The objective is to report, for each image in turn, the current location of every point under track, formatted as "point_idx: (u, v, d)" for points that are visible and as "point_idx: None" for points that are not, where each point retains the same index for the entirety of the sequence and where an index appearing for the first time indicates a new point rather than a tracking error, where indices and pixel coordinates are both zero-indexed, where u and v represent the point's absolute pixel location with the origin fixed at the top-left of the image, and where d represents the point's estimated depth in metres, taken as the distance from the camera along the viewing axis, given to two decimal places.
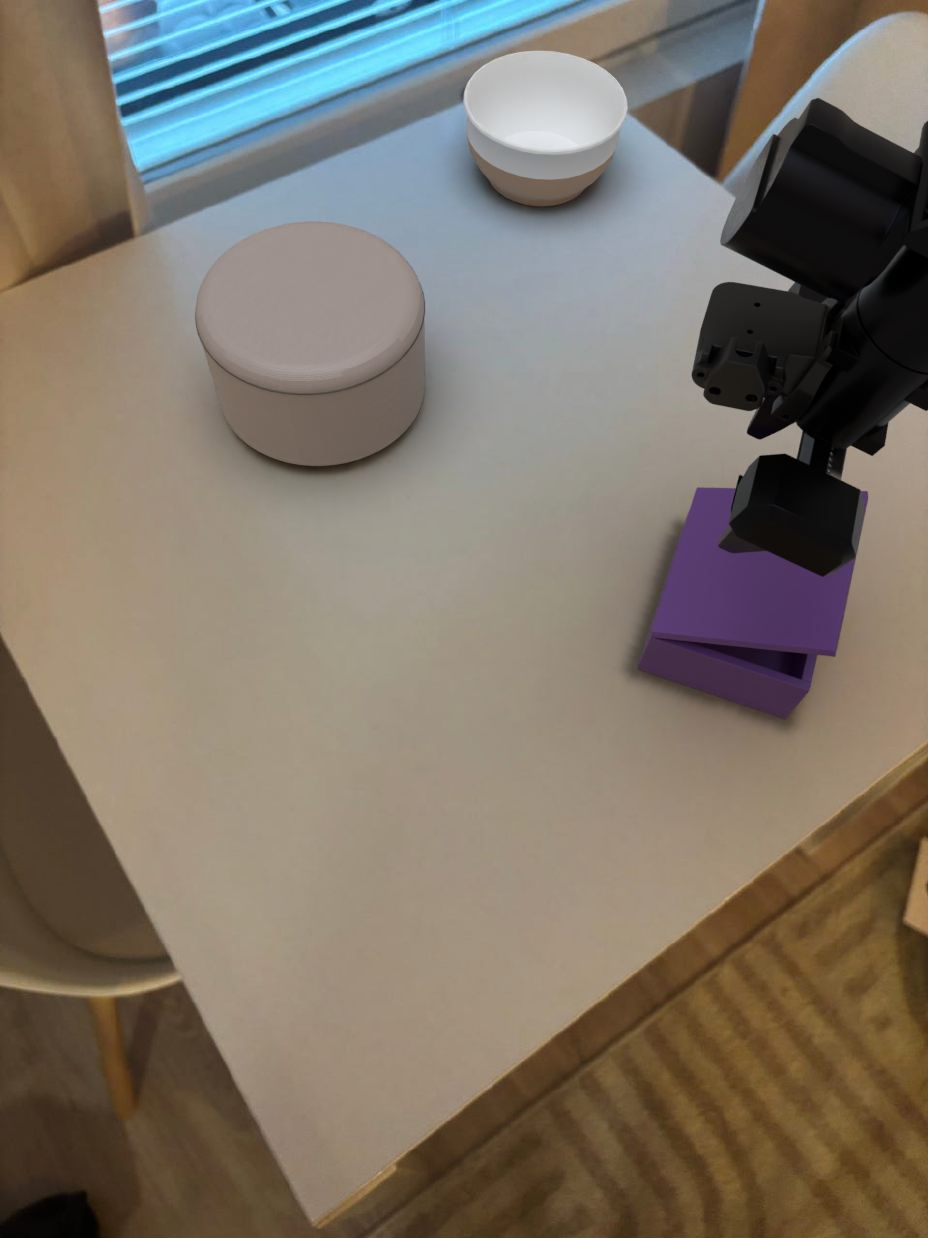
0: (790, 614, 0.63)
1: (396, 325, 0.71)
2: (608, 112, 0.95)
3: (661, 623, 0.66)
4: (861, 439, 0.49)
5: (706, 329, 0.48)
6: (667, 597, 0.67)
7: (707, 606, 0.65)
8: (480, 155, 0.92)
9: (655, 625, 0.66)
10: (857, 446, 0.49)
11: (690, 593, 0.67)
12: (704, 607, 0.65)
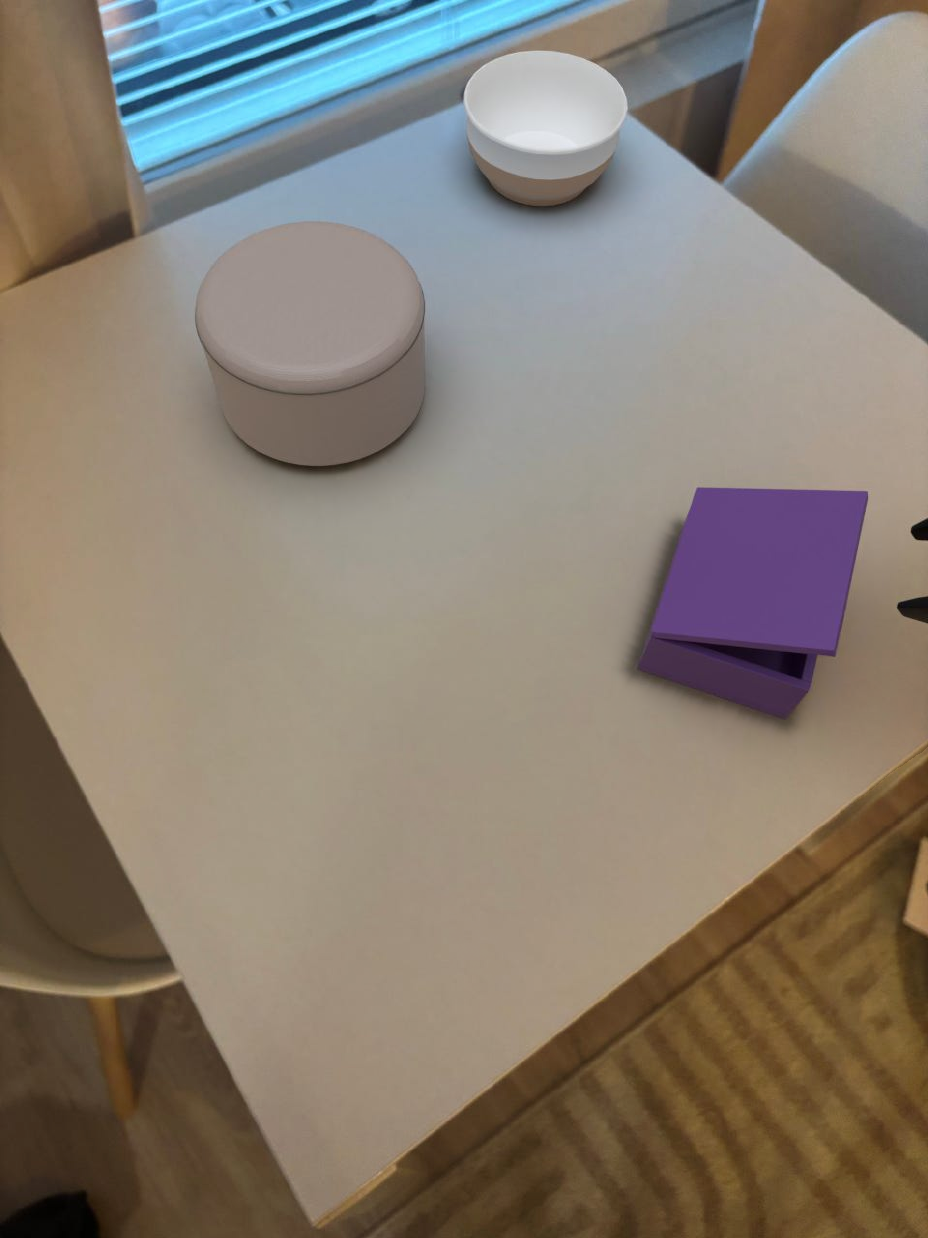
0: (790, 614, 0.63)
1: (396, 325, 0.71)
2: (608, 112, 0.95)
3: (661, 623, 0.66)
4: None
5: None
6: (667, 597, 0.67)
7: (707, 606, 0.65)
8: (480, 155, 0.92)
9: (655, 625, 0.66)
10: None
11: (690, 593, 0.67)
12: (704, 607, 0.65)
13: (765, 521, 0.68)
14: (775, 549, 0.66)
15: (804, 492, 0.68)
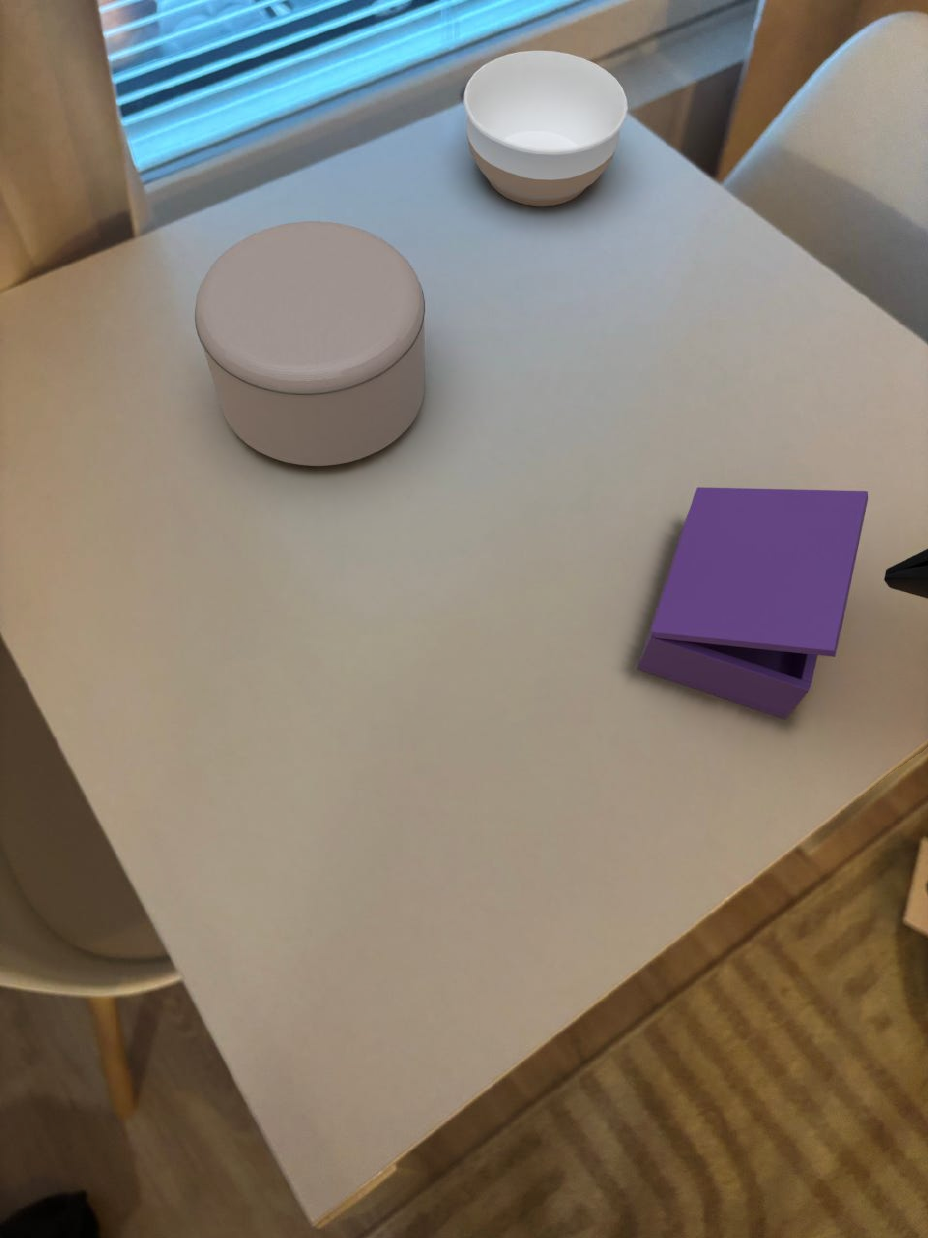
0: (790, 614, 0.63)
1: (396, 325, 0.71)
2: (608, 112, 0.95)
3: (661, 623, 0.66)
4: None
5: None
6: (667, 597, 0.67)
7: (707, 606, 0.65)
8: (480, 155, 0.92)
9: (655, 625, 0.66)
10: None
11: (690, 593, 0.67)
12: (704, 607, 0.65)
13: (765, 521, 0.68)
14: (775, 549, 0.66)
15: (804, 492, 0.68)
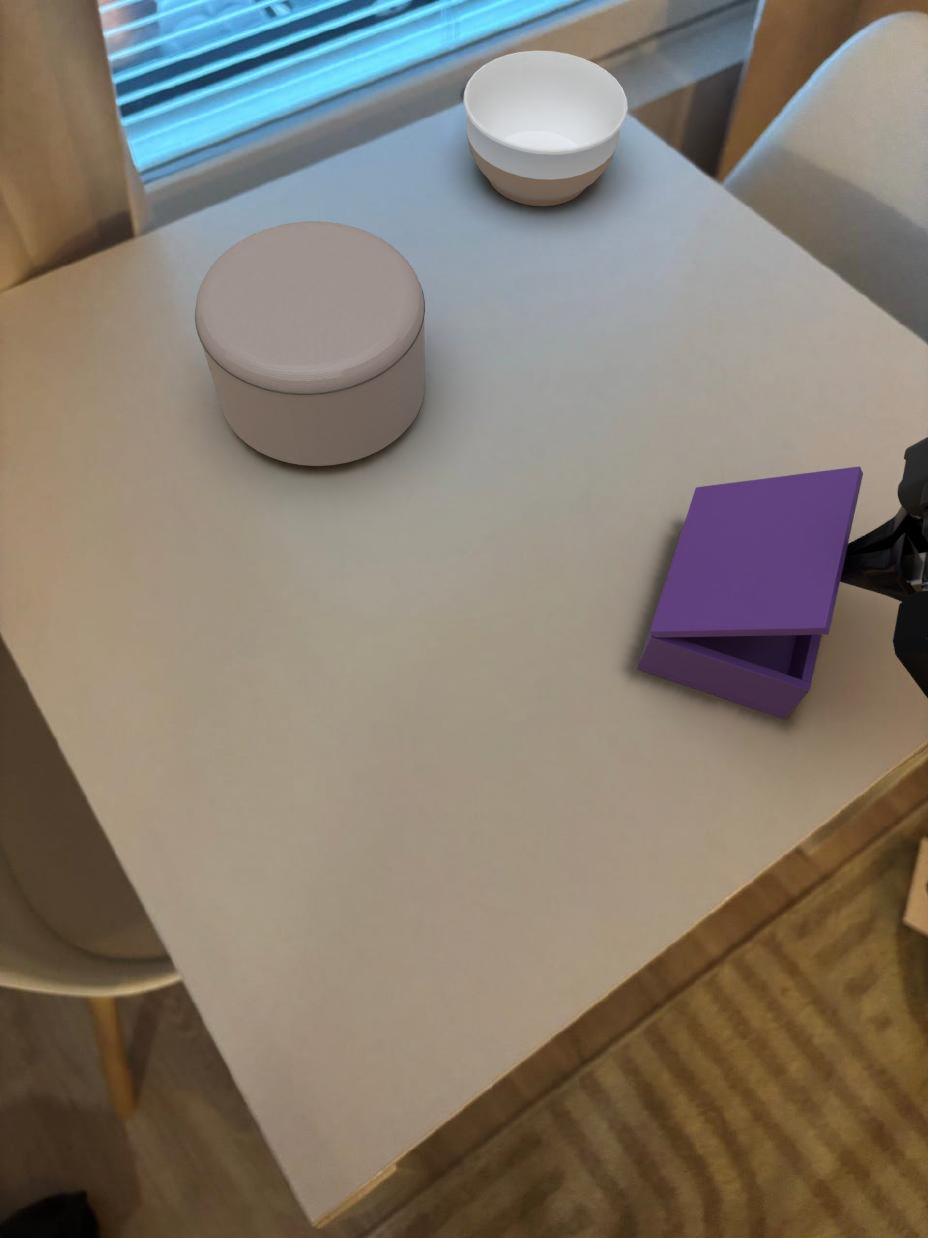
0: (782, 597, 0.61)
1: (396, 325, 0.71)
2: (608, 112, 0.95)
3: (659, 622, 0.66)
4: None
5: None
6: (665, 596, 0.67)
7: (703, 600, 0.65)
8: (480, 155, 0.92)
9: (654, 625, 0.66)
10: None
11: (687, 590, 0.66)
12: (700, 601, 0.65)
13: (760, 510, 0.67)
14: (769, 536, 0.65)
15: (798, 476, 0.67)
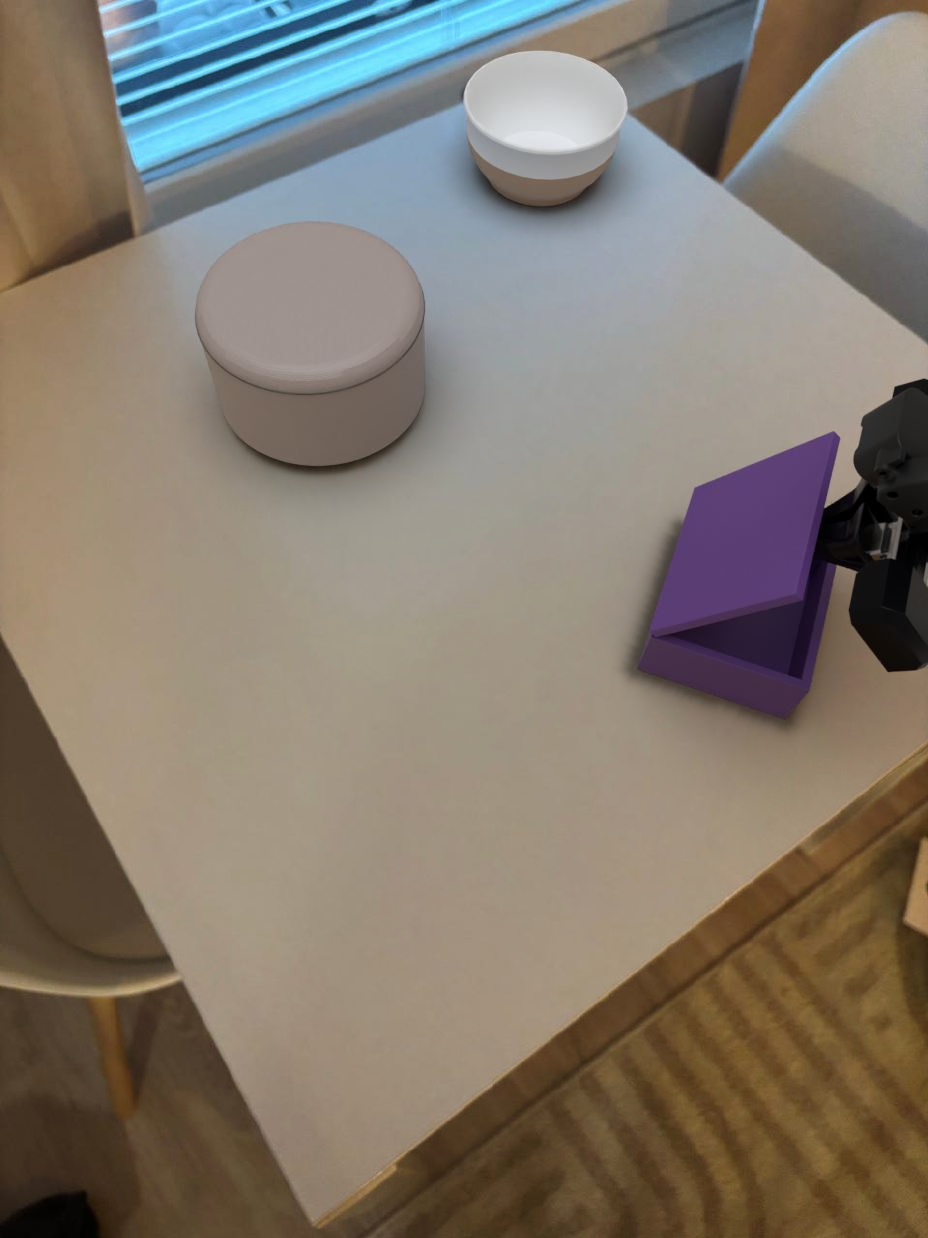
0: (760, 573, 0.60)
1: (396, 325, 0.71)
2: (608, 112, 0.95)
3: (657, 621, 0.66)
4: None
5: (902, 433, 0.50)
6: (663, 595, 0.67)
7: (693, 591, 0.65)
8: (480, 155, 0.92)
9: (652, 624, 0.66)
10: None
11: (681, 585, 0.66)
12: (691, 593, 0.65)
13: (746, 495, 0.66)
14: (752, 517, 0.64)
15: (780, 455, 0.66)
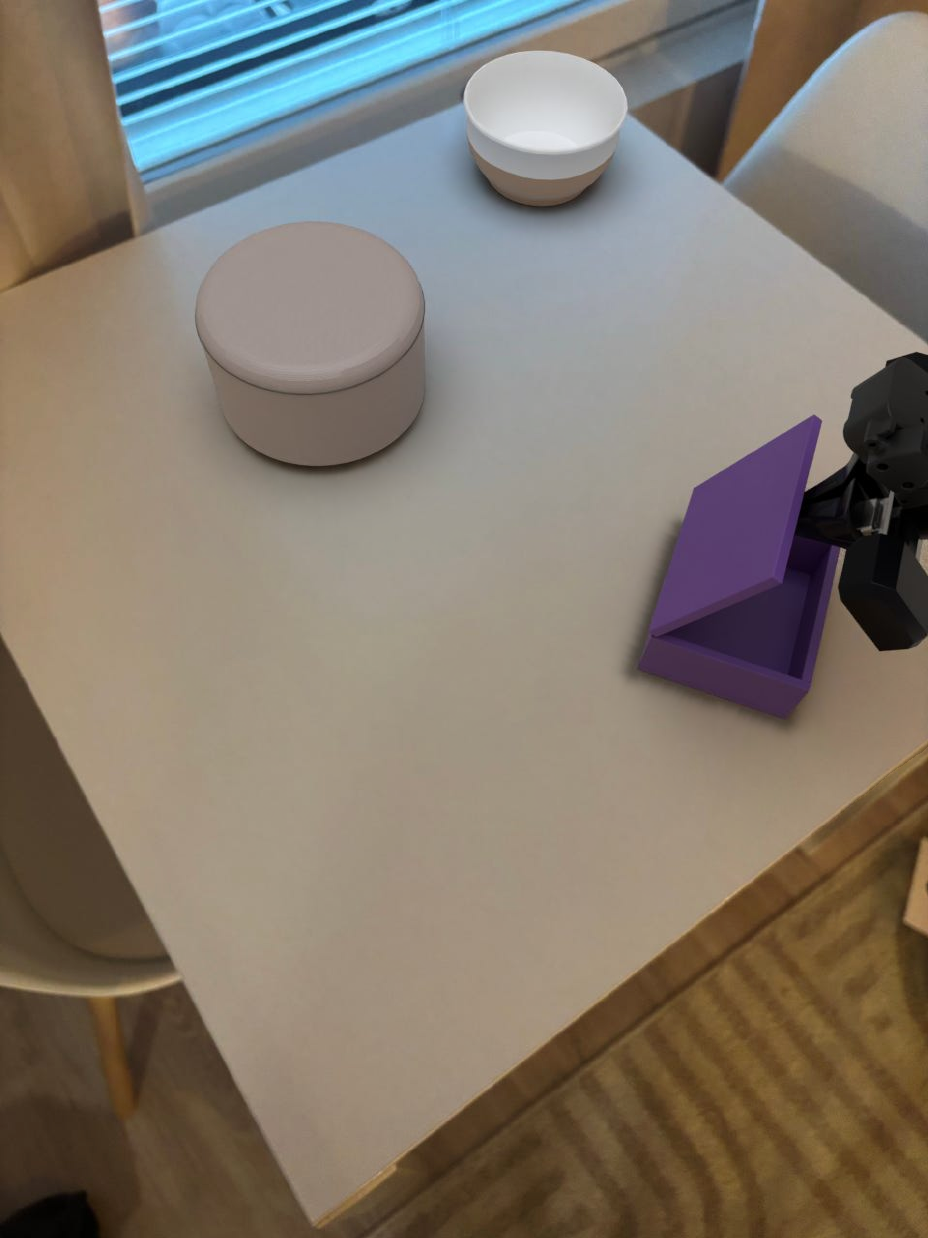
0: (744, 561, 0.60)
1: (396, 325, 0.71)
2: (608, 112, 0.95)
3: (655, 620, 0.66)
4: None
5: (892, 404, 0.49)
6: (662, 595, 0.67)
7: (687, 588, 0.64)
8: (480, 155, 0.92)
9: (651, 624, 0.66)
10: None
11: (678, 583, 0.66)
12: (685, 590, 0.65)
13: (736, 488, 0.66)
14: (740, 509, 0.64)
15: (767, 445, 0.65)
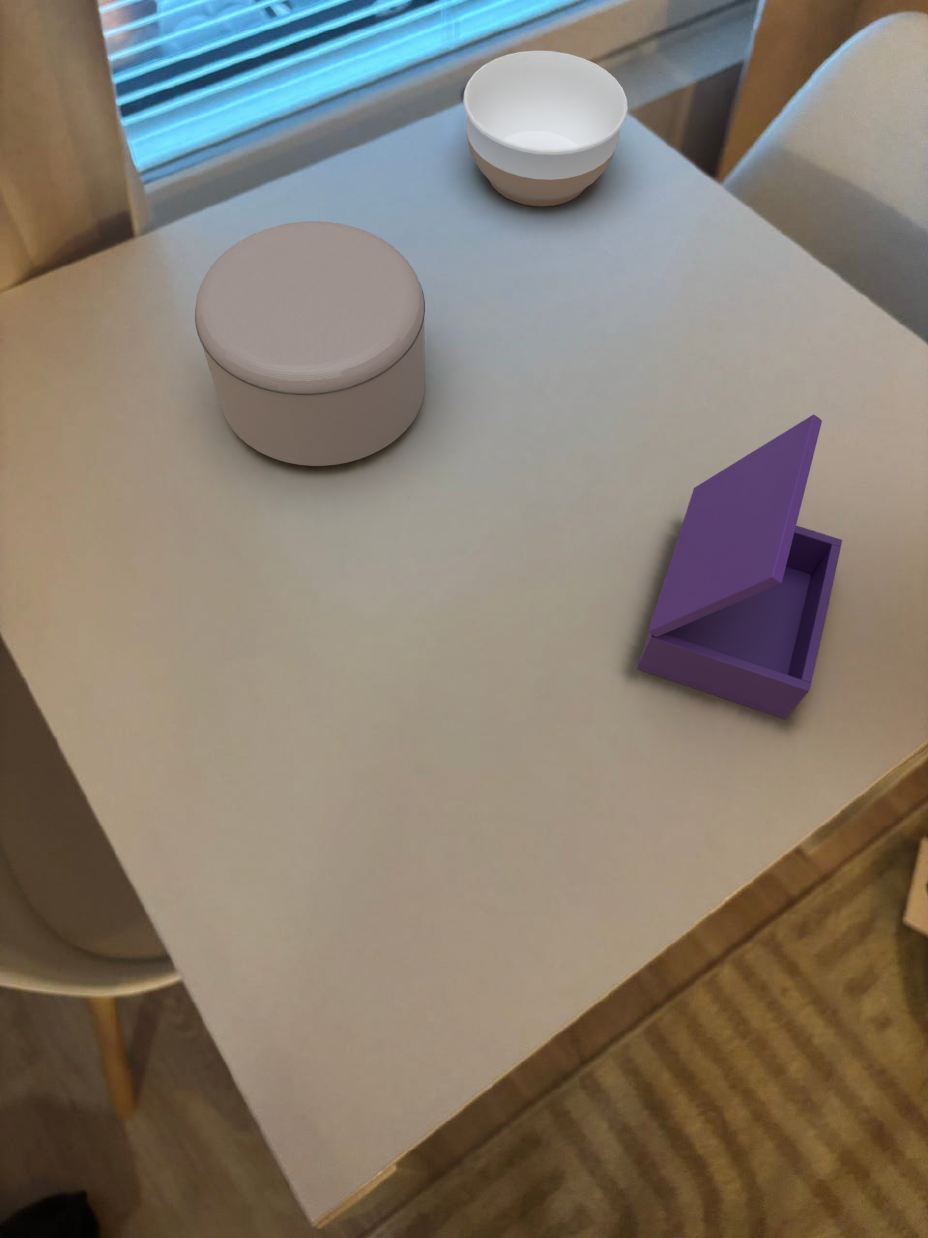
0: (744, 561, 0.60)
1: (396, 325, 0.71)
2: (608, 112, 0.95)
3: (655, 620, 0.66)
4: None
5: None
6: (662, 595, 0.67)
7: (687, 588, 0.64)
8: (480, 155, 0.92)
9: (651, 624, 0.66)
10: None
11: (678, 583, 0.66)
12: (685, 590, 0.65)
13: (736, 488, 0.66)
14: (740, 509, 0.64)
15: (767, 444, 0.65)
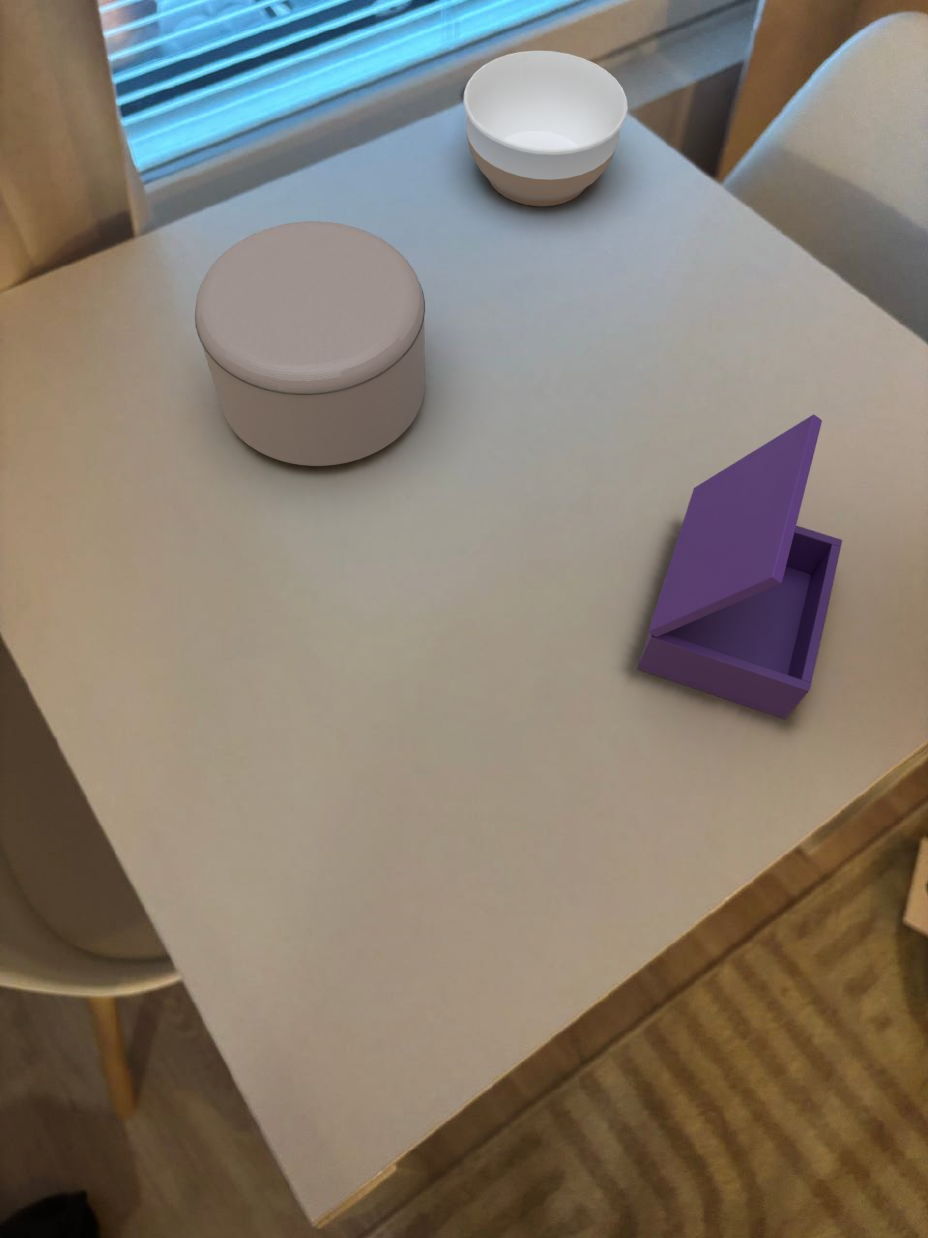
0: (744, 561, 0.60)
1: (396, 325, 0.71)
2: (608, 112, 0.95)
3: (655, 620, 0.66)
4: None
5: None
6: (662, 595, 0.67)
7: (687, 588, 0.64)
8: (480, 155, 0.92)
9: (651, 624, 0.66)
10: None
11: (678, 583, 0.66)
12: (685, 590, 0.65)
13: (736, 488, 0.66)
14: (740, 509, 0.64)
15: (767, 444, 0.65)
